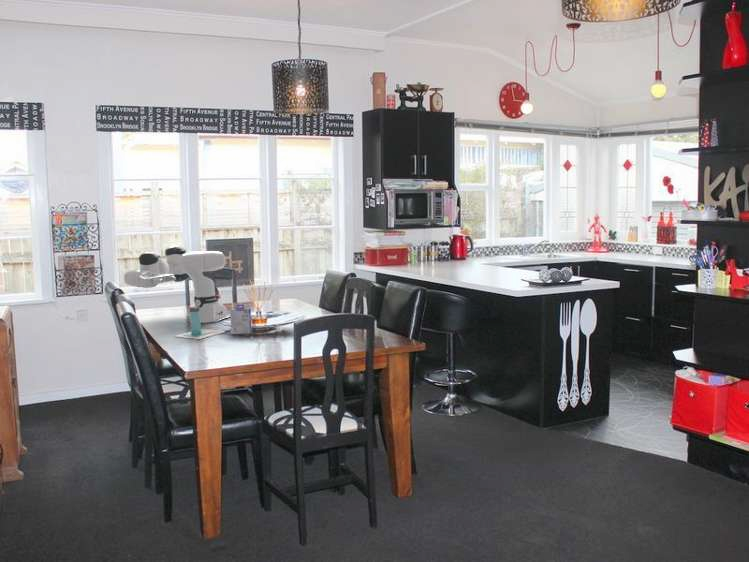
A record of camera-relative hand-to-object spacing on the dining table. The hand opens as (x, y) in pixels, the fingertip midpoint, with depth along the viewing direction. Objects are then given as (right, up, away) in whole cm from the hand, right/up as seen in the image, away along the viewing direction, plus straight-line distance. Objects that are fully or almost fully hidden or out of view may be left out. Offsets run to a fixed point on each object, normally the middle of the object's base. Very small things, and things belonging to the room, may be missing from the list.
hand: (168, 279), depth 373 cm
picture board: (+17, -28, -2) cm, 33 cm away
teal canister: (+16, -28, -5) cm, 32 cm away
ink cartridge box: (+38, -27, -2) cm, 47 cm away
